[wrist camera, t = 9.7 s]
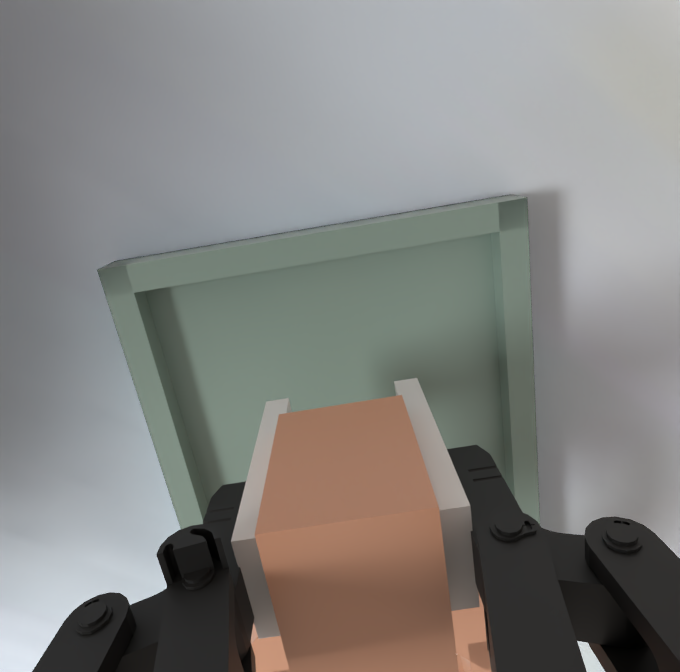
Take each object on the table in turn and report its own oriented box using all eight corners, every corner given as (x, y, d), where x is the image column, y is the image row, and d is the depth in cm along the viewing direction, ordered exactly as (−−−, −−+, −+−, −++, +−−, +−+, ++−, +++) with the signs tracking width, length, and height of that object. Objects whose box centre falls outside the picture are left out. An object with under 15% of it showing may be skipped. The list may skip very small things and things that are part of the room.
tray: (530, 604, 25) (544, 632, 24) (235, 649, 26) (229, 680, 24) (510, 194, 19) (527, 197, 17) (115, 261, 19) (97, 269, 18)
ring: (276, 750, 18) (258, 951, 14) (183, 429, 14) (112, 555, 10) (523, 716, 18) (592, 909, 13) (499, 379, 14) (586, 484, 9)
